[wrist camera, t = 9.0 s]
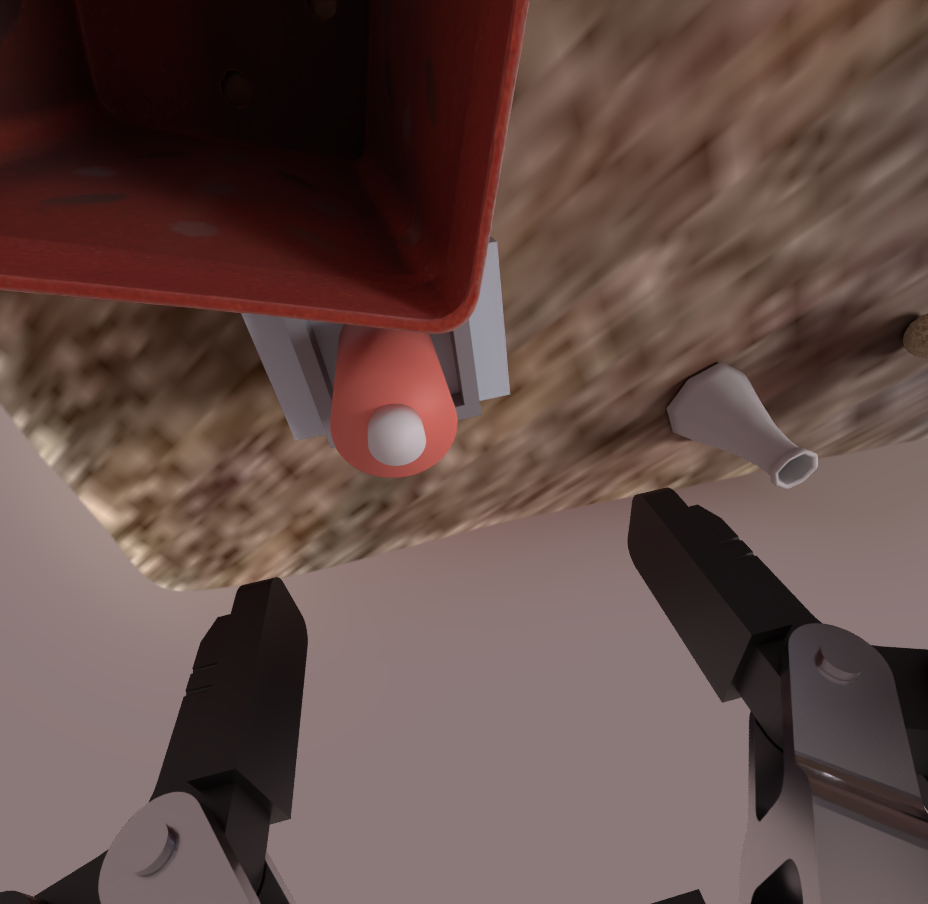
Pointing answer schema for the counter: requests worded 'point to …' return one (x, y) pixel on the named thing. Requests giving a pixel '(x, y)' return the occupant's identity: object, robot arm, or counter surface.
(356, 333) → the pink cylinder white tip
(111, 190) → the plant pot
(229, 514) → the counter surface
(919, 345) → the mushroom
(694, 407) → the flask
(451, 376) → the grey box device
